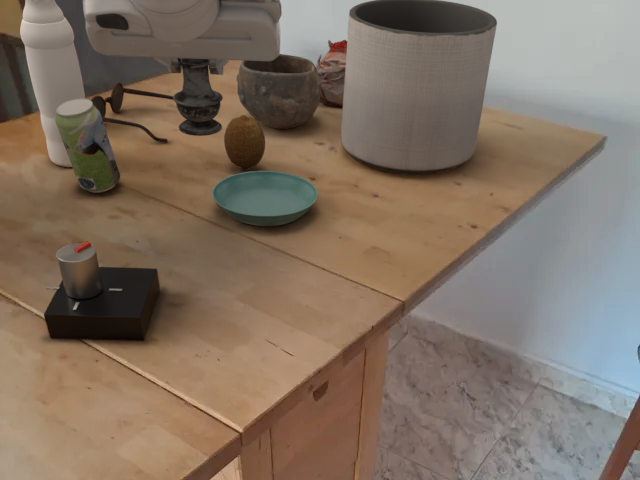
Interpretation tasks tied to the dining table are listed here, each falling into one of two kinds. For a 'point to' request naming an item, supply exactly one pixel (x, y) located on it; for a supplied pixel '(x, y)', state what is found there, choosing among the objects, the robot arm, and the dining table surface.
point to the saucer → (265, 197)
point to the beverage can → (87, 145)
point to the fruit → (244, 142)
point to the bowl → (279, 90)
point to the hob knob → (80, 270)
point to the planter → (415, 83)
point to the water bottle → (51, 67)
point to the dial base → (107, 307)
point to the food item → (333, 73)
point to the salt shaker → (197, 99)
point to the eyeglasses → (116, 104)
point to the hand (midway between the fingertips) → (196, 68)
